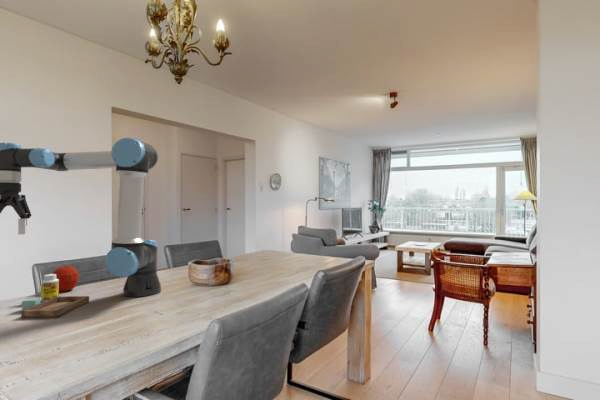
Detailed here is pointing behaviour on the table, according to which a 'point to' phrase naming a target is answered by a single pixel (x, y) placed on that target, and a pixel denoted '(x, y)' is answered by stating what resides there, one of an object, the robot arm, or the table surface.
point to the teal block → (30, 302)
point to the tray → (55, 307)
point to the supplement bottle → (49, 287)
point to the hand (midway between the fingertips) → (8, 235)
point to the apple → (66, 277)
